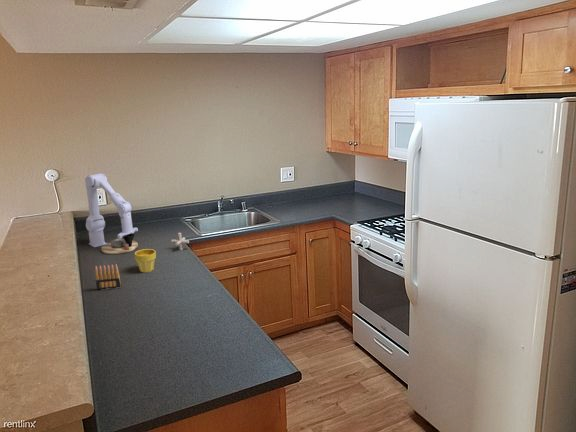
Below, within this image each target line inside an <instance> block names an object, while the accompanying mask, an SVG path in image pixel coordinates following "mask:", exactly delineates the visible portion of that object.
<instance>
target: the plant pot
mask: <svg viewBox="0 0 576 432" xmlns="http://www.w3.org/2000/svg"><path fill="white" fill-rule="evenodd" d="M156 258H157V252H156V250H155V249H153V248H152V249H151V248H145V249H144V248H143V249H139V250H137V251H135V252H134V259H135V261H136V262H137V266H138V269H139V272H141V273H150V272H153V271H154V268H155V262H156V261H155V260H156ZM152 270H153V271H152Z"/></svg>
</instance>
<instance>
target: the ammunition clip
mask: <svg viewBox="0 0 576 432" xmlns="http://www.w3.org/2000/svg"><path fill="white" fill-rule="evenodd" d="M114 264H115V265H113V264H111V266H110V265H109V264H107V267H106V265H105V264H103V266H101V265H99V267H98V266H97V265H95V267H94V270H95V271H94V272H95V276H94V277H95V284H96V286H95V287H96V290H97V289H106V288H116V287H121V288H122V282H121V277H120V271H119V268H118V265H117V263H114Z"/></svg>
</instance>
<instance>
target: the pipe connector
mask: <svg viewBox="0 0 576 432" xmlns="http://www.w3.org/2000/svg"><path fill="white" fill-rule="evenodd" d="M177 237H178V239H171V243H173V244H174V243H175V244H174V245H175V246H176V247H177V246H178V247H179V248H178V249H179V251H183V250H184V249H183V248H184V247H183V244H189V243H190V240H188V239H186V237H184V236H183V237H182V232H178V233H177Z"/></svg>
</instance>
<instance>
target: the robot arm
mask: <svg viewBox="0 0 576 432" xmlns="http://www.w3.org/2000/svg"><path fill="white" fill-rule="evenodd" d="M84 181H85V189H86V195H87V202H88V203H87V204H88V213H89V215H88V217H87V218H86V219H85V228H86V230H87V232H88V236H89V237H88V238H89V243H88V245H90V246H91V247H93V248H97V247H98V248H99V247H102V246H104V245H105V244H108V242H105V235H104V229H105V227H106V221H105V220H104V219H105V218H104V216H103V215H101V214H100V207H99V206H100V205H99V198H98V188H102V190H103V191H104V192H105V193H107V195H108V196H110V198H109V199H110V201H111V202H112V203H113V204H114V206H115V207H116V208H117V209H116V210H117V213H118V215H119V217H120V223H121V230H122V231H121V232H120V233H118V234H117V238H123V239H124V240H125V241H126V244H129V247H131V246H132V241H134V237H135V232H138V231H139V229H138V227H133V220H132V211H133V204H131V202H130V201H128V200H125V198H123V197H122V195H121V194H120V193H119V192H115V190H114V188H113V187H112V185H110V183H109V182H108V177H107V176H106V174H105V173H104V172H99V173H95V174H91V175H90V174H89V175H86V177H85V178H84Z"/></svg>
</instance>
